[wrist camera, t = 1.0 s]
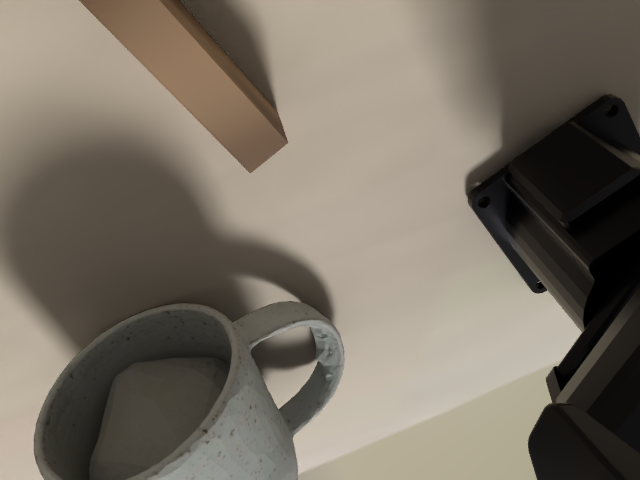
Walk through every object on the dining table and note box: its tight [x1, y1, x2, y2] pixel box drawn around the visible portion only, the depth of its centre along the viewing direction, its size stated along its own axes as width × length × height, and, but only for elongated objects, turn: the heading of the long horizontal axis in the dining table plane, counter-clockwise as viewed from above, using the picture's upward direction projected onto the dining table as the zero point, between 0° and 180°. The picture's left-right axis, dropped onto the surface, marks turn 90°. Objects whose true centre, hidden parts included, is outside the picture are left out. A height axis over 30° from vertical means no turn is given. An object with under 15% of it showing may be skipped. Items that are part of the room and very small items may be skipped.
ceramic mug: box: [34, 301, 344, 480], centre depth 22 cm, size 11×8×8 cm
